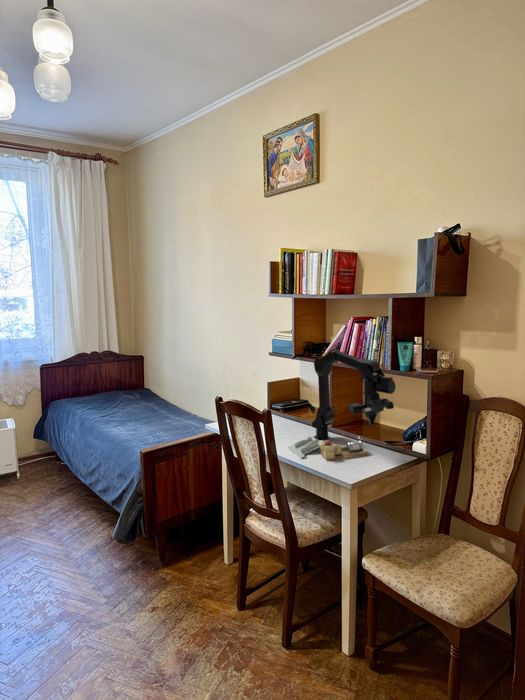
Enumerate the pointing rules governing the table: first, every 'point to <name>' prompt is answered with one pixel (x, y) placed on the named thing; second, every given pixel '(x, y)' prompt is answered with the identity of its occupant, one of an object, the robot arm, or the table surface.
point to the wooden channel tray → (337, 452)
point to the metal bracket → (304, 447)
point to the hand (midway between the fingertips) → (371, 425)
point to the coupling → (354, 447)
